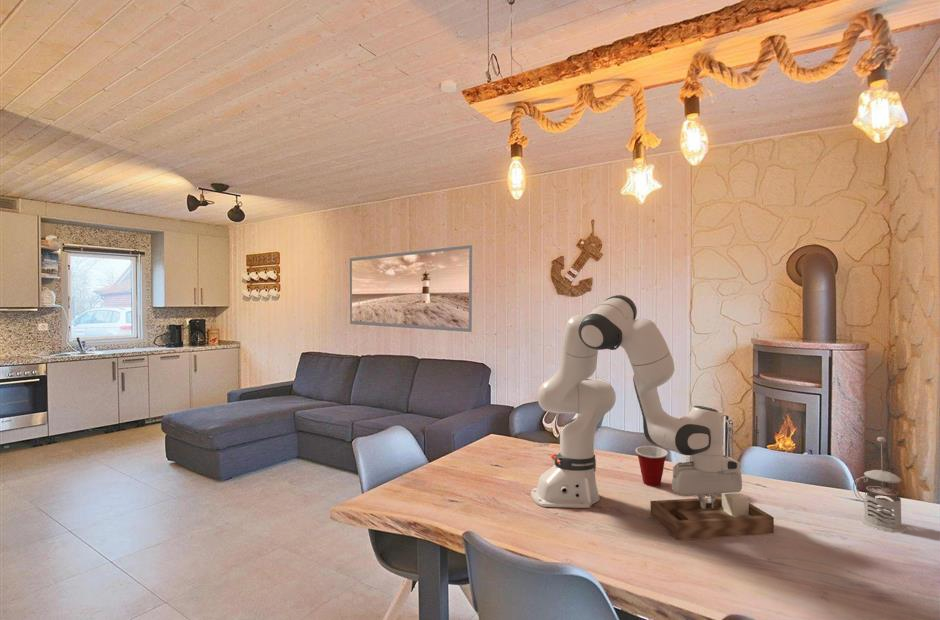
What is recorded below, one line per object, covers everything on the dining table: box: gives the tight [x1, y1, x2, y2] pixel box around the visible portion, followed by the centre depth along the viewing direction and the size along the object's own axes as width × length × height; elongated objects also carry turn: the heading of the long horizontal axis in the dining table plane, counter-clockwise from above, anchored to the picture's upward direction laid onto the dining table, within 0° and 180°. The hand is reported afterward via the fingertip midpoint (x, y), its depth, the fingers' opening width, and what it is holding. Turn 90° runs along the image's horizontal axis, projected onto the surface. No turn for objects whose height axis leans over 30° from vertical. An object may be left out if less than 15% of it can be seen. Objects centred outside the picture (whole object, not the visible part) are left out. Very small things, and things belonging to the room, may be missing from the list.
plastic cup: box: [635, 445, 669, 487], centre depth 167 cm, size 11×11×12 cm
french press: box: [852, 436, 907, 533], centre depth 134 cm, size 10×12×25 cm
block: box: [721, 492, 750, 516], centre depth 138 cm, size 5×5×5 cm
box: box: [649, 496, 775, 541], centre depth 135 cm, size 28×15×4 cm, turn 95°
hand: (706, 507), depth 138 cm, fingers closed
